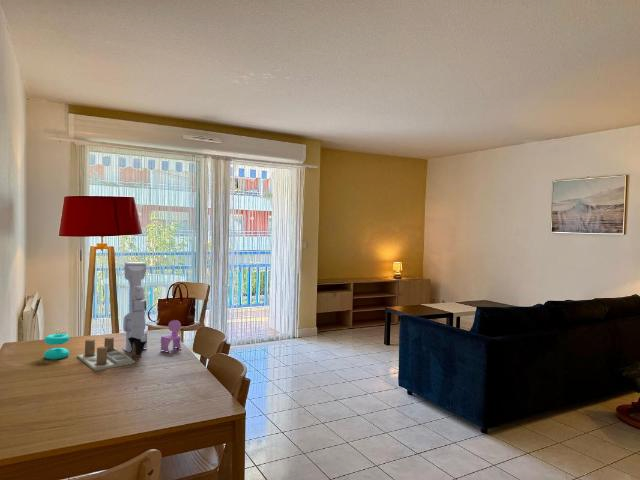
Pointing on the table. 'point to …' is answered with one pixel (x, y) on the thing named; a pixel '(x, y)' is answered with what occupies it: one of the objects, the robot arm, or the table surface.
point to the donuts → (56, 352)
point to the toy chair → (171, 336)
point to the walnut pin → (135, 352)
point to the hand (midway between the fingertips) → (136, 353)
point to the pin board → (104, 355)
